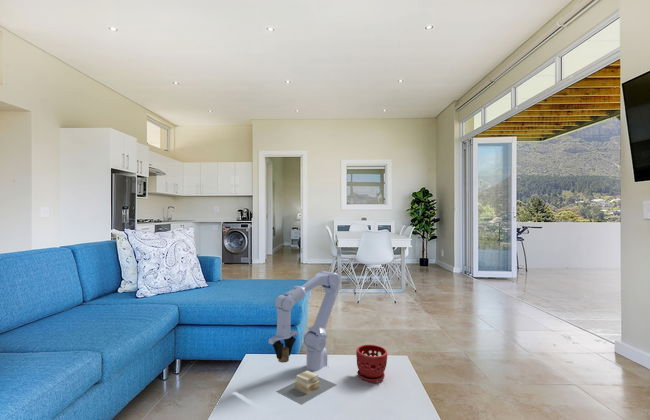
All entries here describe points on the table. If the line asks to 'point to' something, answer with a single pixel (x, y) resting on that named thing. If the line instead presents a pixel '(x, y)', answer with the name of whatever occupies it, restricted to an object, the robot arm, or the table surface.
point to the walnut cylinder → (284, 355)
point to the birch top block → (307, 378)
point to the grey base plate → (302, 397)
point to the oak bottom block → (307, 389)
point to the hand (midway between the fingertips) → (283, 356)
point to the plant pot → (371, 363)
